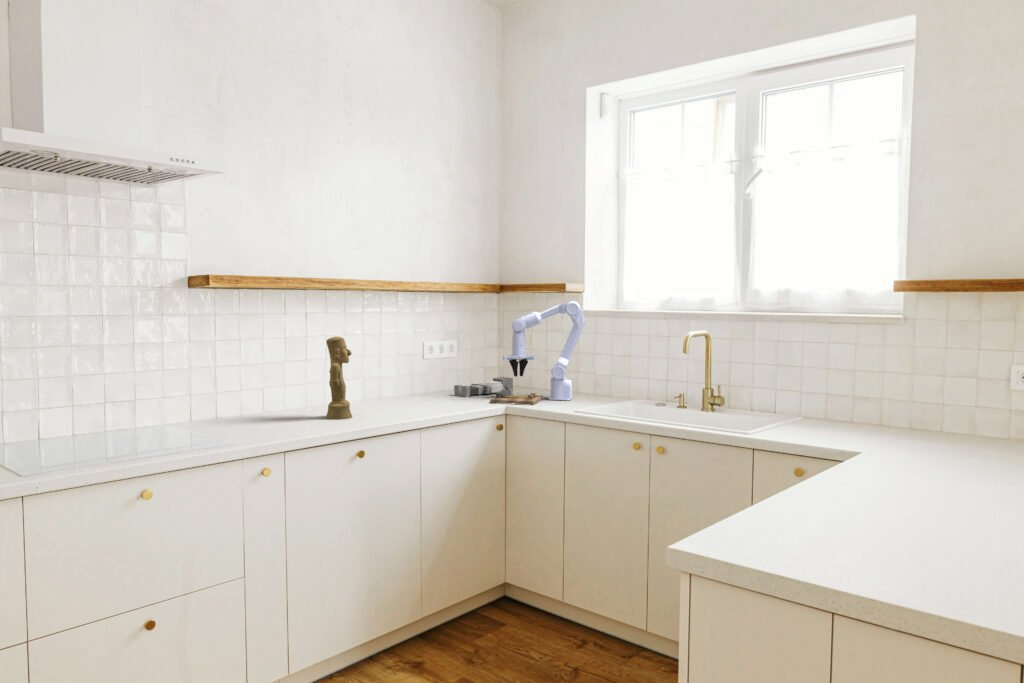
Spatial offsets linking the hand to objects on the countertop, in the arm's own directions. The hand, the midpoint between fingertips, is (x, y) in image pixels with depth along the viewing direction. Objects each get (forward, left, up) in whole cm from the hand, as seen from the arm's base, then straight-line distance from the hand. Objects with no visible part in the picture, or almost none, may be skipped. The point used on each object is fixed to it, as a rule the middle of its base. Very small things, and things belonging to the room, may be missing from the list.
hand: (518, 376), depth 331 cm
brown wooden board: (-2, +9, -10) cm, 13 cm away
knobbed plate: (+3, +10, -7) cm, 13 cm away
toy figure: (+19, -12, -10) cm, 24 cm away
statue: (+52, +71, -10) cm, 89 cm away
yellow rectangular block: (-3, +9, -8) cm, 13 cm away
